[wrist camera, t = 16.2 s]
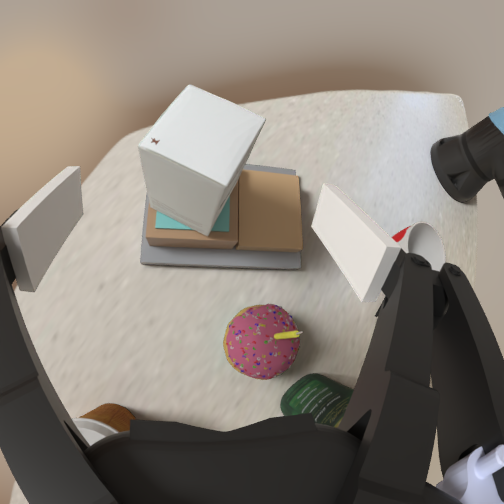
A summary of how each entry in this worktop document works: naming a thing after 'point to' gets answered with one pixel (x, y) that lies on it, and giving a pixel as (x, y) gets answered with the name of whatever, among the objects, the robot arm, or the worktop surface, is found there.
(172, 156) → the supplement box
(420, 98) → the worktop surface
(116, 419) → the disposable coffee cup
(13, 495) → the worktop surface
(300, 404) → the coffee jar
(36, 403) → the robot arm
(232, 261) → the build base
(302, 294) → the worktop surface
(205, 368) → the worktop surface
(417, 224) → the cup
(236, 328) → the cupcake
